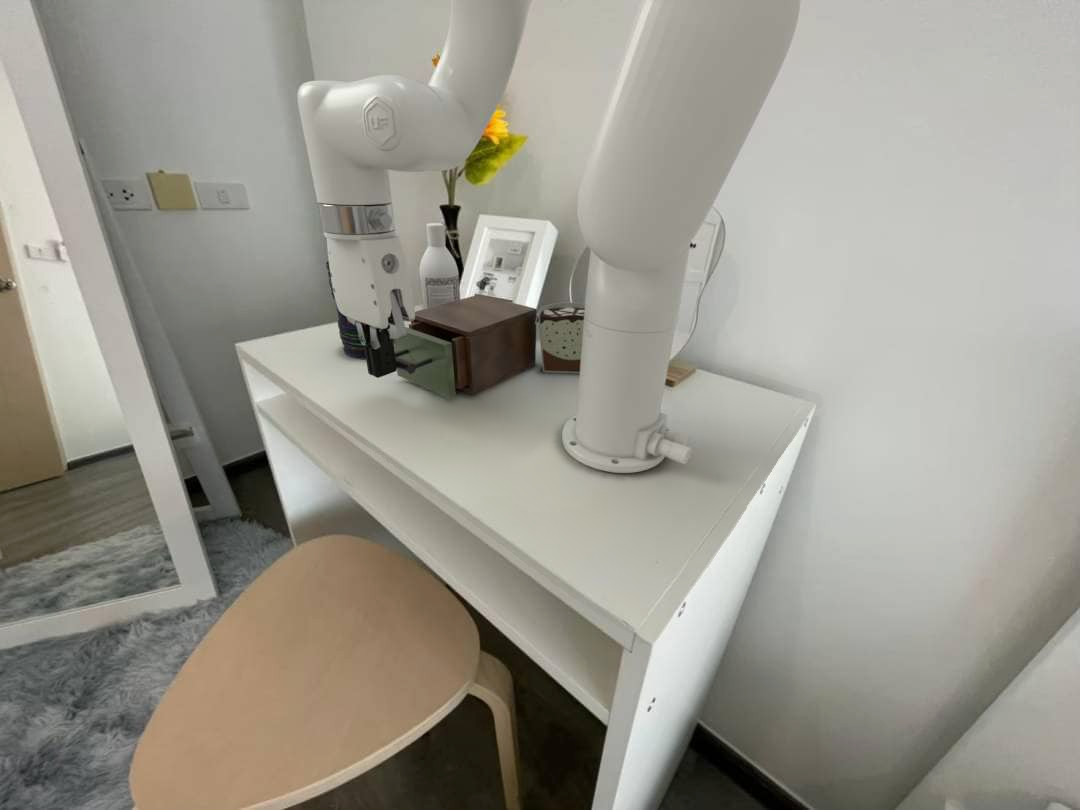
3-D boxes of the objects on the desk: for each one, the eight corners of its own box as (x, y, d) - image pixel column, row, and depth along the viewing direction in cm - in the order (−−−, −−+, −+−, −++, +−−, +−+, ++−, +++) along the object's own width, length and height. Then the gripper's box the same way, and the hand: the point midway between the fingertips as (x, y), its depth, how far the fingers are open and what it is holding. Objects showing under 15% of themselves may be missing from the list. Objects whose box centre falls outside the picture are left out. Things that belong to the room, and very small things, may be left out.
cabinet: (473, 395, 63) (469, 332, 58) (416, 371, 69) (409, 312, 65) (535, 364, 73) (536, 308, 68) (481, 346, 80) (479, 294, 75)
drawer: (424, 410, 57) (418, 354, 53) (373, 385, 63) (364, 333, 59) (513, 368, 69) (513, 320, 66) (463, 350, 75) (460, 306, 72)
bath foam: (469, 336, 84) (463, 225, 75) (436, 343, 80) (425, 227, 71) (451, 326, 89) (443, 220, 79) (419, 333, 85) (407, 222, 75)
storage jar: (330, 355, 74) (310, 265, 67) (363, 336, 83) (349, 254, 75) (384, 362, 72) (369, 270, 65) (412, 341, 81) (401, 258, 74)
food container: (606, 359, 76) (612, 302, 71) (610, 374, 70) (617, 314, 66) (535, 357, 76) (536, 300, 71) (533, 371, 71) (535, 311, 66)
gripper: (430, 225, 47) (444, 379, 56) (351, 213, 55) (374, 350, 63) (368, 231, 42) (394, 401, 50) (290, 217, 49) (324, 366, 58)
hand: (383, 372), depth 57 cm, fingers closed
